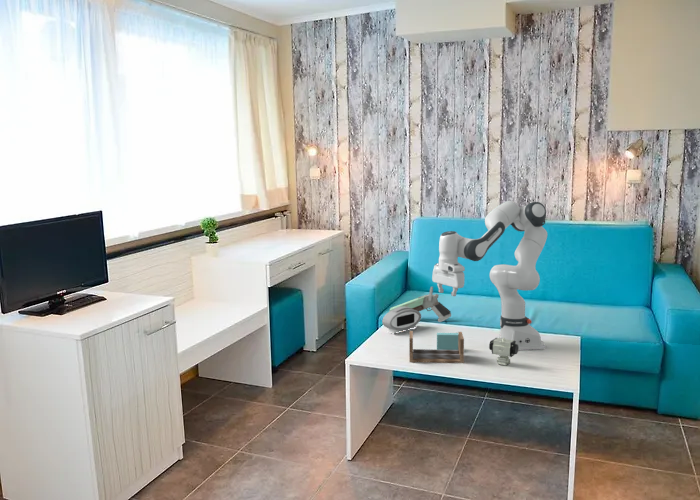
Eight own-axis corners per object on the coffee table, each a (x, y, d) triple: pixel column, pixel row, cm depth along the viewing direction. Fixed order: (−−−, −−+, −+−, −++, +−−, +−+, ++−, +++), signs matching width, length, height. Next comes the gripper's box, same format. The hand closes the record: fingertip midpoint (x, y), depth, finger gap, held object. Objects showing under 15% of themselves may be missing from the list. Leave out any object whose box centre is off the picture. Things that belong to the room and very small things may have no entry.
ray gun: (452, 318, 332) (438, 285, 331) (399, 337, 340) (385, 305, 339) (452, 315, 339) (439, 283, 338) (400, 333, 347) (387, 302, 346)
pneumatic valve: (492, 360, 268) (493, 334, 266) (518, 365, 261) (518, 338, 260) (487, 364, 263) (488, 337, 262) (513, 368, 257) (514, 341, 255)
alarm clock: (390, 335, 310) (390, 311, 308) (382, 333, 314) (382, 309, 313) (421, 327, 324) (421, 305, 322) (413, 325, 329) (413, 303, 327)
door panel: (457, 349, 286) (457, 333, 284) (458, 351, 282) (458, 335, 281) (436, 348, 287) (436, 332, 285) (437, 351, 283) (437, 334, 282)
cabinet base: (461, 354, 277) (461, 331, 275) (463, 363, 265) (463, 339, 263) (409, 353, 279) (409, 331, 278) (409, 362, 267) (409, 338, 266)
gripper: (429, 263, 290) (428, 291, 291) (456, 269, 272) (455, 298, 274) (439, 262, 293) (439, 289, 294) (467, 268, 275) (466, 297, 277)
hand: (447, 294), depth 284 cm, fingers open, 8 cm apart
